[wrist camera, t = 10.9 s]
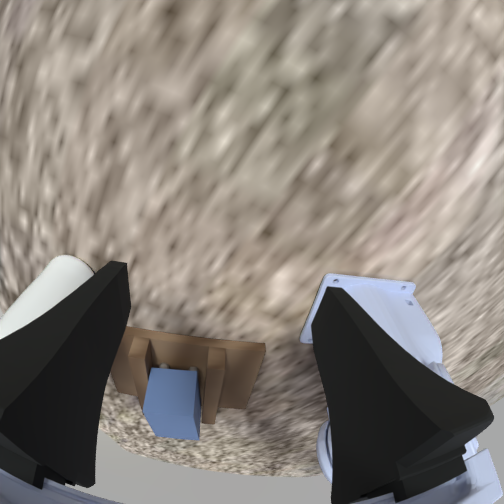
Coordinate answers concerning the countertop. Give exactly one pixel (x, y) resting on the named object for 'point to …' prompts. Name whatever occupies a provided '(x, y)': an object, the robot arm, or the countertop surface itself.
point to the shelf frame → (189, 366)
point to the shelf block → (173, 403)
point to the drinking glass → (45, 292)
